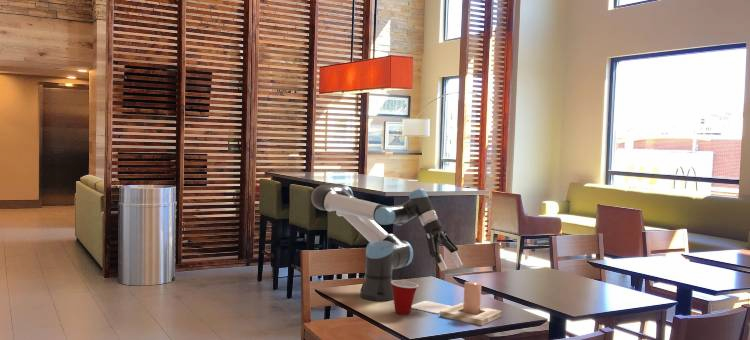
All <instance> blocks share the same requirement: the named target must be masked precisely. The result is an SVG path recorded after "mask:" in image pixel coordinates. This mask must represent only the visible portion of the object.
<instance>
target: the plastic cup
mask: <svg viewBox="0 0 750 340" xmlns="http://www.w3.org/2000/svg"><path fill="white" fill-rule="evenodd" d="M391 284H392V288H393V297H394V299H393V305H394V312H395V313H396V314H398V315H409V313H411V310H412V308H411V306H412V305H413V302H414V297H415V293H416V291H417V289H418V287H419V284H418V283H416V282H413V281H410V280H405V279H404V280H403V279H394V280H393V279H392V281H391Z"/></svg>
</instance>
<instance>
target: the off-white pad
mask: <svg viewBox="0 0 750 340" xmlns="http://www.w3.org/2000/svg"><path fill="white" fill-rule="evenodd" d="M449 307H452V305H447V304H443V303H440V302H439V303H438V302H435V301H429V300H423V301H420V302H416V303H414V304H412V306H411V310H412V309H413V310H416V309H417V311H422V312H426V313H430V312H431V313H432V314H435V315H440V311H442V310H444V309H447V308H449ZM431 313H430V314H431Z"/></svg>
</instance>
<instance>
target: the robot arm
mask: <svg viewBox="0 0 750 340" xmlns="http://www.w3.org/2000/svg"><path fill="white" fill-rule="evenodd" d="M354 196H355V195H354V192H353V190H352V189H351V187H350V186H348V185H345V184H342V183H335V184H321V185H319V186H317V187H315V188H314V189H313V190H312V192H311V198H310V199H311V203H312V205H313V206H314V207H315V208H316V209H318V210H319V211H325V212H330V213H331V212H334V214H335V215H336V216H338V217H343V218H344V219H345V220H346V221H347V222H348V223H349V224H351V226H353V228H355V230H357V232H358V233H360V235H362V236H363V238H365V240H367V241H368V243H367V245H366V250H365V266H364V267H365V269H364V280H363V281H362V285H361V288H360V290H359V297H360V298H362V299H364V300H369V301H378V302H383V301H391V300H394V297H393V288H392V284H391V281H393V270H397V269H401V268H402V269H403V268H405V267H406V266H409V265H410V264H411V263H412V261H413V258H414V249H413V247H412V245H411V244H410V243H409V241H406V240H404V239H403V240H401V239H400V238H398V237H397V236H396V235H395V234H394V233H388V231H386V230H385V229H384V228H383V227H381V226H382V225H383V226H387V225H393V224H394V225H396V226H399V227H400V226H402V225H404V224H406V223H408V222H409V221H411V220H413V219H414V218H415V217H418V219H419V221H420V223H421V225H422V226H423V230H424V232H425V238H426V241H427V245H428V252H429V256H431V258H434V259H435V262H436V263H437V265H438V267H439V269H440V272H443V271H445V270H447V269H448V266H447V265H446V263H445V260H444V259H443V256H442V254H441V253H440V244H441V245H442V246H444V247H445V248H446V249H447V250H448V251H449V252H450V257H452V260H453V262H454V264H455V268H460V267H462V266H464V265H463V262H462V260H461V258H460V256H459V254H458V252H457V251H458V250H459V247H458V246H457V244H455V242H454V241H453V239H452V238H450V236H449V235H448V233H447V231H446V230H444V231H442V230H441V229H442V228H443V225H442V222H441V221H440V219H439V217H438V214H437V211H436V210H435V208H434V207H433V204H432V202H431V200H430V198H429V195H428V194H427V192H426V190H425V189H424V188H417V189H414V190H413V191H411V192H410V193H409V194H408V200H407V201H406V202H404V203H402V204H399V205H384V204H380V203H376V202H372V201H369V200H364V199H359V198H356V197H354Z"/></svg>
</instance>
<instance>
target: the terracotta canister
mask: <svg viewBox="0 0 750 340" xmlns="http://www.w3.org/2000/svg"><path fill="white" fill-rule="evenodd" d="M481 296H482V283H481V282H478V281H471V280H470V281H465V282H464V289H463V303H464V304H463V313H468V314H473V315H478V314H480V307H481V301H482V300H481V298H482V297H481Z"/></svg>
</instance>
